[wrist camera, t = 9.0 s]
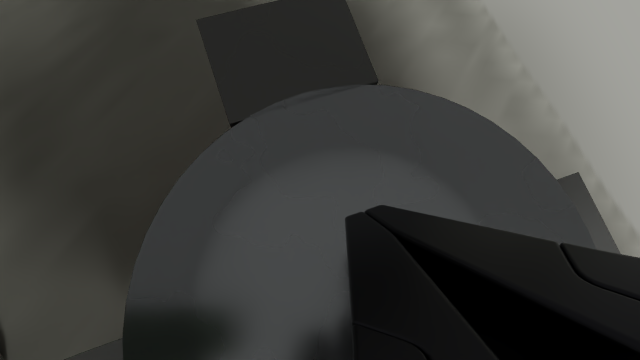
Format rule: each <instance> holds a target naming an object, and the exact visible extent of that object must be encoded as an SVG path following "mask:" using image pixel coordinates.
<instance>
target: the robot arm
mask: <svg viewBox="0 0 640 360" xmlns="http://www.w3.org/2000/svg"><path fill="white" fill-rule="evenodd" d="M345 231H346V247H347V262H348V277H349V293H350V308H351V323H352V344H353V360H640V258H638V257H632V256H627V255H622V254H617V253H612V252H607V251H602V250H597V249H592V248H587V247H582V246H578V245H573V244H568V243H561V244H560V245H559V244H558V243H557V242H555V241H550V240H546V239H541V238H536V237H532V236H527V235H522V234H518V233H513V232H508V231H504V230H499V229H494V228H489V227H485V226H480V225H475V224H471V223H466V222H461V221H457V220H452V219H447V218H443V217H438V216H433V215H428V214H424V213H419V212H414V211H410V210H405V209H400V208H396V207H391V206H386V205H378V206H375V207H373V208H370V209H367V210H365V212H358V213H355V214H352V215H349V216H347V217H346V218H345Z"/></svg>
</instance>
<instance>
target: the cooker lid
mask: <svg viewBox="0 0 640 360" xmlns="http://www.w3.org/2000/svg"><path fill="white" fill-rule="evenodd" d="M196 21H197V24H198V27H199V30H200V33H201V36H202V39H203V42H204V45H205V49H206V52H207V55H208V58H209V61H210V64H211V67H212V70H213V73H214V77H215V80H216V83H217V86H218V89H219V92H220V95H221V98H222V101H223V105H224V108H225V111H226V114H227V117H228V120H229V123H230V126H231V129H229V130H228V131H226V132H225V133H224V134H223V135H221V136H220V137H219V138H218V139H217V140H216V141H215V142H213V143H212V144H211V145H210V146H209V147H208V148H207V149H205V150H204V151H203V152H202V153H201V154H200V155H199V156H198V157H197V158H196V160H195V161H194V162H193V163H192V164H191V165H190V166H189V167H188V169H187V170H186V171H185V172H184V173H183V174H182V175H181V176H180V178H179V179H178V181H177V182H176V184H175V185H174V186H173V188H172V189H171V191H170V192H169V194H168V195H167V197H166V198H165V200H164V201H163V202H162V204H161V206H160V208H159V210H158V212H157V214H156V216H155V217H154V219H153V221H152V223H151V225H150V227H149V229H148V231H147V233H146V235H145V238H144V241H143V243H142V246H141V249H140V252H139V254H138V257H137V260H136V263H135V265H134V269H133V273H132V278H131V282H130V286H129V291H128V295H127V300H126V306H125V317H124V327H123V338H122V343H123V360H353V344H352V323H351V308H350V293H349V277H348V262H347V247H346V231H345V218H346V217H347V216H349V215H352V214H355V213H358V212H365V210H367V209H370V208H373V207H375V206H378V205H386V206H391V207H396V208H400V209H405V210H410V211H414V212H419V213H424V214H428V215H433V216H438V217H443V218H447V219H452V220H457V221H461V222H466V223H471V224H475V225H480V226H485V227H489V228H494V229H499V230H504V231H508V232H513V233H518V234H522V235H527V236H532V237H536V238H541V239H546V240H550V241H555V242H557V243H558V244H559V245H560V244H561V243H568V244H573V245H578V246H582V247H587V248H592V249H596V247H595V245H594V242H593V240H592V237H591V235H590V233H589V231H588V229H587V227H586V225H585V223H584V222H583V220H582V218H581V216H580V214H579V212H578V211H577V209H576V207H575V205H574V204H573V202H572V201H571V200H570V198H569V197H568V195H567V194H566V192H565V191H564V190H563V188H562V187H561V185H560V184H559V182H558V181H557V180H556V179H555V178H554V176H553V175H552V174H551V173H550V172H549V171H548V170H547V169H546V167H545V166H544V165H543V164H542V163H541V162H540V161H539V159H538V158H537V157H535V156H534V155H533V154H532V153H531V152H530V151H529V150H528V149H527V148H526V147H524V146H523V145H522V144H521V143H520V142H519V141H518V140H517V139H516V138H514V137H513V136H511V135H510V134H509V133H507V132H506V131H504V130H503V129H502V128H500V127H499V126H497V125H496V124H495V123H493V122H492V121H490V120H488V119H486V118H485V117H483V116H481V115H479V114H477V113H476V112H474V111H472V110H470V109H468V108H466V107H464V106H461V105H459V104H457V103H454V102H452V101H449V100H447V99H445V98H442V97H439V96H435V95H432V94H428V93H425V92H421V91H417V90H413V89H407V88H400V87H394V86H388V85H377V83H378V79H377V76H376V74H375V72H374V69H373V67H372V64H371V62H370V59H369V57H368V54H367V52H366V49H365V47H364V45H363V42H362V40H361V37H360V35H359V32H358V30H357V27H356V25H355V23H354V20H353V18H352V15H351V13H350V10H349V8H348V5H347V3H346V0H278V1H274V2H269V3H265V4H261V5H257V6H253V7H248V8H244V9H240V10H236V11H232V12H227V13H223V14H219V15H215V16H211V17H206V18H202V19H198V20H196Z"/></svg>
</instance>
